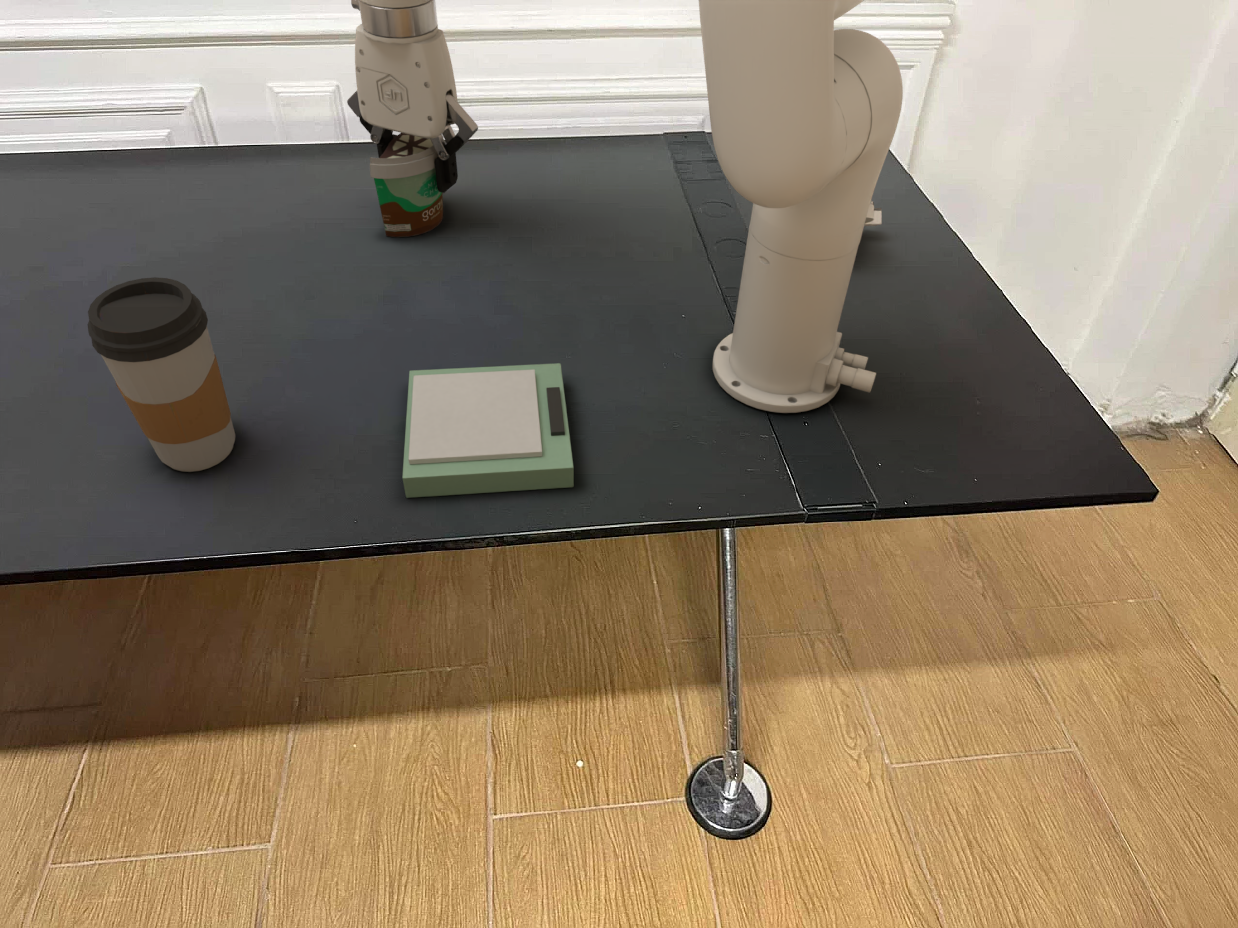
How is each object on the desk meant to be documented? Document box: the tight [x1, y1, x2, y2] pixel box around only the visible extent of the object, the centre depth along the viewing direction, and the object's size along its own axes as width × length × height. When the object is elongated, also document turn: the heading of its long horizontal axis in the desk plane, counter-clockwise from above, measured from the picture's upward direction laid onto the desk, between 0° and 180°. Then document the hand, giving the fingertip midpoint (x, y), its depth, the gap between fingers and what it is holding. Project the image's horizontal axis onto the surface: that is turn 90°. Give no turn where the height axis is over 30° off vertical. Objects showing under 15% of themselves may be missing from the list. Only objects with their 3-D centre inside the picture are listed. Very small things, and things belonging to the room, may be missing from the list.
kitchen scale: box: [401, 362, 575, 499], centre depth 80 cm, size 14×14×3 cm
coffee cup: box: [87, 276, 236, 473], centre depth 73 cm, size 8×8×15 cm
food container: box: [369, 132, 447, 238], centre depth 104 cm, size 12×6×10 cm, turn 168°
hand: (419, 179), depth 103 cm, fingers closed on food container, 6 cm apart
